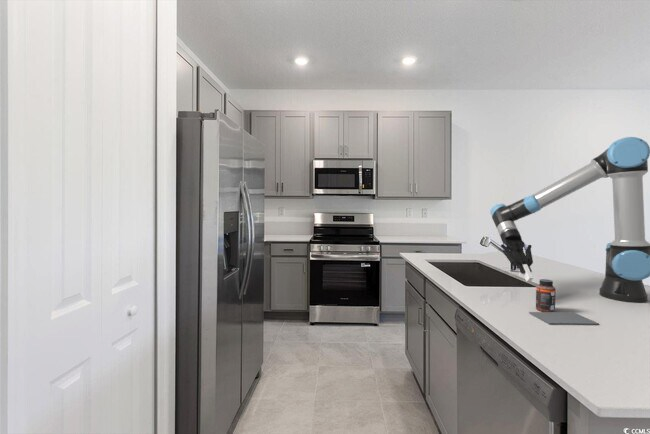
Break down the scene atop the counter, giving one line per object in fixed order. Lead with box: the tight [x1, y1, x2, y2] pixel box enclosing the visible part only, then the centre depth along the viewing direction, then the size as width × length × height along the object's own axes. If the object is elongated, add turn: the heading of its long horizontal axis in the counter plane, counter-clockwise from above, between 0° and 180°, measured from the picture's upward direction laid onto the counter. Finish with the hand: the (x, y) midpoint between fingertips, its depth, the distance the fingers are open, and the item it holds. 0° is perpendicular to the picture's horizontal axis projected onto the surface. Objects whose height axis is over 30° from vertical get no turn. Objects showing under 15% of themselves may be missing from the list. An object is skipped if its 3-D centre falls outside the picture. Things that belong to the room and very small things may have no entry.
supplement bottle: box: [535, 278, 557, 312], centre depth 121 cm, size 6×6×11 cm
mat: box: [528, 311, 600, 326], centre depth 113 cm, size 16×11×1 cm
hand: (529, 280), depth 129 cm, fingers closed
